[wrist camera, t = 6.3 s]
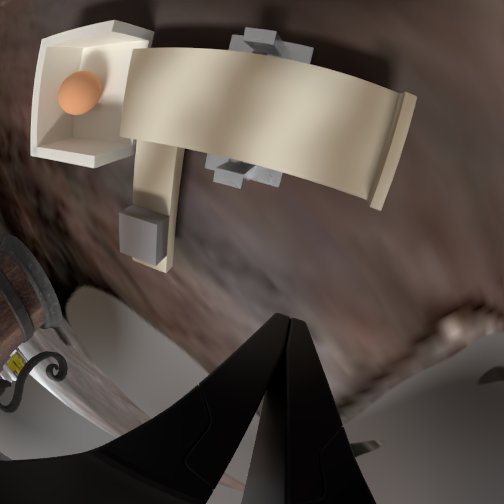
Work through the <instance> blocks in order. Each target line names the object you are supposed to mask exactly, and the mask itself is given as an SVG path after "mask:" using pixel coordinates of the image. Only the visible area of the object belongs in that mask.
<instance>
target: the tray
mask: <svg viewBox="0 0 504 504" xmlns="http://www.w3.org/2000/svg"><path fill="white" fill-rule="evenodd" d="M153 36H154V31H151V30H148V29H145V28H141V27H138V26H135V25H132V24H128V23H125V22H121V21H117V20H111V21H106V22H101V23H96V24H92V25H88V26H84V27H80V28H76V29H73V30H69V31H66V32H62V33H59V34H56V35H53V36H50V37H47V38H44V39H42V42H41V46H40V51H39V56H38V62H37V68H36V75H35V82H34V91H33V101H32V115H31V156H35V157H40V158H46V159H51V160H56V161H61V162H66V163H71V164H76V165H81V166H86V167H90V168H97V167H99V166H102V165H105V164H108V163H111V162H114V161H117V160H120V159H123V158H126V157H129V156H132V155H135V145H136V139H130V138H123V137H120V127H121V118H122V110H123V102H124V95H125V89H126V82H127V76H128V71H129V66H130V60H131V56H132V51H133V49H140V48H151V45H152V41H153ZM78 71H89V72H92V73H94V74H95V75H96V76H97V77H98V78H99V80H100V83H101V95H100V98H99V100H98V102H97V103H96V105H95V106H94V107H93V108H92V109H91V110H89V111H88V112H86V113H83V114H80V115H72V114H68V113H66V112H65V111H64V110H63V109H62V108H61V107H60V105H59V102H58V92H59V88H60V86H61V84H62V83H63V81H64V80H65V79H66V78H67V77H68V76H69V75H71V74H73V73H75V72H78Z"/></svg>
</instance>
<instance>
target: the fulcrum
mask: <svg viewBox="0 0 504 504" xmlns="http://www.w3.org/2000/svg"><path fill="white" fill-rule="evenodd" d="M229 50H230V51H239V52H247V53H252V51H261V52H265V53H267V56H273V57H279V58H284V59H289V60H294V61H298V62H303V63H307V64H310V63H311V59H312V55H313V50H314V48H313V47H308V46H304V45H299V44H294V43H289V42H284V41H282V39H281V38H280V36H279V34H278V33H277V31H271V30H264V29H257V28H248V27H246V28H245V32H244V36H242V35H232V38H231V42H230V46H229ZM205 168H207V169H211V170H215V174H214V180H213V182H217V183H221V184H225V185H229V186H232V187H236V188H240V189H241V188H242V187H243V186H244V185H245V184H246V183H247V182H249V181H250V180H254V181H258V182H262V183H265V184H269V185H272V186H276V187H279V186H280V182H281V178H282V174H283V172H280V171H276V170H273V169H269V168H265V167H262V166H258V165H254V164H250V163H246V162H243V163H234V162H231V161H229V158H226V157H222V156H218V155H213V154H209V153H207V159H206V165H205Z"/></svg>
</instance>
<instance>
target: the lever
mask: <svg viewBox="0 0 504 504" xmlns="http://www.w3.org/2000/svg"><path fill="white" fill-rule="evenodd" d="M416 99H417V97H416V96H414V95H412V94H410V93H407V92H403V93H400V94H399V93H397V92H394V91H392V90H390V89H387V88H384V87H382V86H379V85H377V84H374V83H371V82H368V81H365V80H363V79H360V78H357V77H354V76H350V75H347V74H344V73H341V72H337V71H334V70H330V69H327V68H323V67H319V66H315V65H311V64H307V63H303V62H298V61H294V60H289V59H284V58H279V57H273V56H267V53H265V52H261V51H252V53H247V52H239V51H230V50H219V49H204V48H140V49H133V51H132V56H131V60H130V66H129V71H128V76H127V82H126V89H125V95H124V102H123V110H122V118H121V127H120V137H123V138H130V139H136V140H137V145H136V155H135V168H134V185H133V205H131V206H130V207H128V208H126V209H124V210H123V211H121V212H119V235H120V252H121V253H124V254H126V255H128V256H131V257H133V260H134V261H137V262H139V263H142V264H144V265H147V266H149V267H152V268H154V269H157V270H159V271H162V272H164V273H167V272H168V271H169V270H170V268H171V267H172V266H173V252H174V239H175V227H176V216H177V206H178V197H179V188H180V180H181V172H182V165H183V157H184V150H185V148H186V149H191V150H195V151H200V152H205V153H209V154H213V155H218V156H222V157H226V158H229V161H231V162H234V163H243V162H246V163H250V164H254V165H258V166H262V167H265V168H269V169H273V170H276V171H280V172H283V173H287V174H290V175H293V176H297V177H300V178H303V179H307V180H310V181H313V182H316V183H319V184H322V185H326V186H329V187H332V188H335V189H338V190H341V191H343V192H346V193H349V194H352V195H355V196H358V197H361V198H363V199H366V200H367V201H368V203H369V206H370V207H372V208H375V209H377V210H380V211H381V209H382V206H383V204H384V201H385V198H386V196H387V193H388V190H389V188H390V185H391V182H392V179H393V176H394V173H395V170H396V168H397V165H398V162H399V158H400V155H401V152H402V149H403V146H404V143H405V139H406V136H407V133H408V129H409V126H410V122H411V118H412V115H413V111H414V107H415V103H416Z"/></svg>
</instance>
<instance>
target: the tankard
mask: <svg viewBox="0 0 504 504" xmlns="http://www.w3.org/2000/svg"><path fill="white" fill-rule="evenodd" d="M61 323H62V313H61V308H60V305H59V302H58V299H57V296H56V294H55V292H54V289H53V287H52V285H51V283H50V281H49V279H48V277H47V276H46V274H45V272H44V271H43V269H42V267H41V266H40V264H39V263H38V261H37V260H36V258H35V257H34V255H33V254H32V253H31V252H30V250H29V249H28V248H27V247H26V246H25V245H24V244H23V243H22V242H21V241H20V240H19V239H18V238H16V237H15V236H12V235H6V236H4V237H3V239H2V241H1V246H0V364H1V363H2V362H3V361H4V360H5V359H6V358H7V357H8V356H9V355H10V354H11V353H12V352H13V351H14V350H15V349H16V348H17V347H18V346H19V345H20V344H21V343H22V342H23V343H25V342H26V341H28V340H29V339H30V338H31V337H32V336H33V333H34V332H35V331H36V330H37V329H38V328H41V329H47V328H59V326H60V325H61ZM50 357H54V358H55V359H56V360H57V361H58V363H59V367H58V365H56V364H50V365H48V366H47V368H46V374H47V376H48V377H49V378H50V379H52V380H54V381H57V382H59V381H62V380H63V379H65V377H66V375H67V369H68V368H67V362H66V360H65V358H64V357H63V356H62V355H60V354H58V353H56V352H49V351H46V352H42V353H39V354H37V355H36V356H34V357H32V358H31V359H30V360H29V361H28V362H27V363H26V364H25V365H24V366H23V368H22V369H21V371H20V373H19V374H18V377H17V380H16V385H15V391H14V395H13V399H12V401H11V403H10V404H9V405H8V406H3V405H1V404H0V410H1V411H3V412H5V413H13V412H15V411H16V410H17V408H18V407H19V405H20V402H21V399H22V393H23V387H24V383H25V380H26V377H27V376H28V374H29V373H30V371H31V370H32V369H33V368H34V367H35V366H36V365H37V364H38V363H39V362H41V361H43V360H44V359H46V358H50ZM54 367H55V369H56V370H58V369H59V372H58V374H57V375H56V376H55V375H54V374H53V368H54ZM7 387H11V382H10V381H8V380H4V379H0V395H2V394H3V393H4V391H5V388H7Z"/></svg>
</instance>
